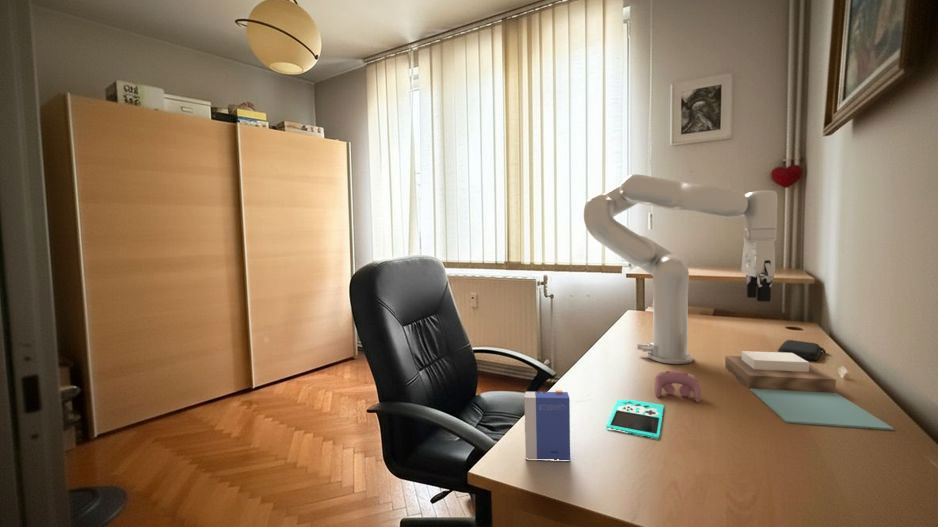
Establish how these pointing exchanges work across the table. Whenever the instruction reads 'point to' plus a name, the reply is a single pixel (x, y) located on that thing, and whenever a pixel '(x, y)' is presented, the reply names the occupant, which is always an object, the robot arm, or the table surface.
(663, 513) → the table surface
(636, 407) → the handheld game console
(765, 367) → the box
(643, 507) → the table surface
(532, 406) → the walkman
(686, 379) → the video game controller
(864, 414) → the mat
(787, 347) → the carrying case or bag
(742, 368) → the brown wooden flat block
